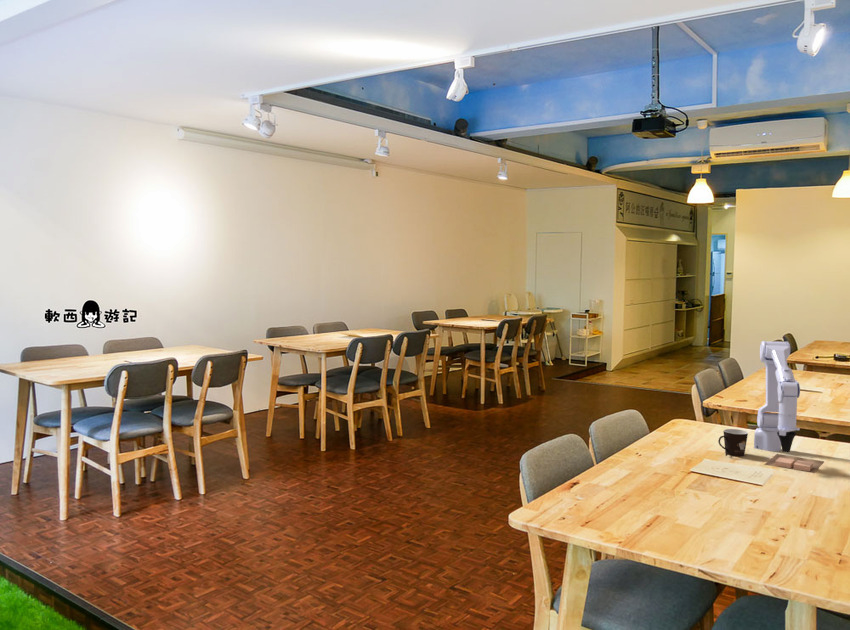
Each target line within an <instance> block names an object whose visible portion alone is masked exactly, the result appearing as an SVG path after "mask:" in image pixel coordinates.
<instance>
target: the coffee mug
mask: <svg viewBox="0 0 850 630" xmlns="http://www.w3.org/2000/svg"><path fill="white" fill-rule="evenodd" d="M748 435H749V432H748V431H746V430H742V429H737V428H726V429H723V435H721V436H720V437H718V441H717V442H718V444H719V446H720V447H721V448H722V449H724V453H725V457H727V456H731V457H737V458H738V457H744V456H745V453H746V447H747V440H748ZM721 439H723V441H724V446H723V445H722V443H721Z"/></svg>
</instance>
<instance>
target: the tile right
mask: <svg viewBox="0 0 850 630" xmlns="http://www.w3.org/2000/svg"><path fill="white" fill-rule="evenodd" d="M812 468H813V463H811V462H805V461H799V460H798V461H797V462H795V463H794V469H797V470H796V471H798V470H803V471H802V472H804V471H810V470H811V469H812Z"/></svg>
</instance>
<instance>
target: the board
mask: <svg viewBox="0 0 850 630" xmlns="http://www.w3.org/2000/svg"><path fill="white" fill-rule="evenodd" d="M779 457H781V458H787V459H793V460H795V462H797V461H798V460H799V461H805V462H811V463H813V468H812V469H811V470H810V471H803V470H797V469H794V465H793V466H792V467H791V468H785V467H780V466H776V465H775V461H776V460H777V459H778V458H779ZM824 462H825V460H818V459H812V458H805V457H801V456H800V457H799V456H794V455H793V456H792V455H786V454H780V453H775V455H774V456H772V457H771V458H770V459H769V460H768V461H767V462H765V463H764V464H763V465H764V466H770V467H771V466H772V467H776V468H781V469H787V470H794V471H798V472H799V471H800V472H806V473H811V474H815V472H817V470H819V468H820V467H821V466H822V465H823V464H824Z"/></svg>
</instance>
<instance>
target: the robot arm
mask: <svg viewBox="0 0 850 630" xmlns="http://www.w3.org/2000/svg"><path fill="white" fill-rule="evenodd" d="M790 355H791V344H790V343H789V341H773V340H772V341H770V340H769V341H767V340H766V341H765V340H762V341H761V342H760V346H759V359H760V362H762V363H764V365H765V404H764V405H762V406H761V407H759V408H758V410H757V417H756V423H757V428H756V429H755V431H754V436H753V437H754V438H753V442H754V443H753V448H754V449H755V450H762V451H765V452H766V451H767V452H772V453H773V452H775V453H778V452H781V451H782V452H783V453H790V452H791V449H792V445H793V442H794V439H795V437H796V436H797V432H796V431H800V429H801V428H800V427H797V417H798V416H797V413H798V412H797V410H798V399H799V398H800V394H801V387H800V383H799V382H798V380H796V379H795V376H794V373H793V370H792V368H790V367H789V366H788V361H787V359H788V358H789V357H790Z"/></svg>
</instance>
